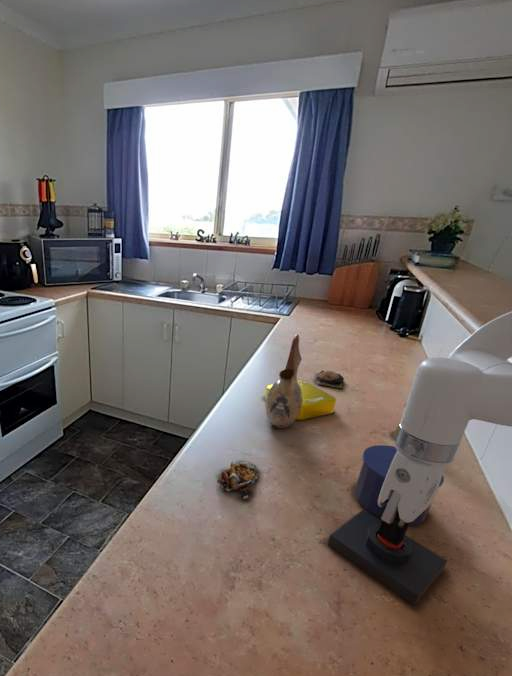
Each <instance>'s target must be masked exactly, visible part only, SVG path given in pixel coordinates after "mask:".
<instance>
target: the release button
mask: <svg viewBox="0 0 512 676" xmlns="http://www.w3.org/2000/svg"><path fill="white" fill-rule="evenodd" d="M377 539H378V540H379V541H380V543H382V544H383V545H385V546H387V547H389V548H392V549H395V550H397V549H401V547H402V545H403V541H402V542H401V543H400V544H399V545H397V546H396V545H394V544H393V543H391V542H389V541H388V540H386V539H385V538H383V537H381V536H380V535H379V534H378V536H377Z"/></svg>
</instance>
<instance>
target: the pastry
mask: <svg viewBox="0 0 512 676" xmlns="http://www.w3.org/2000/svg"><path fill="white" fill-rule="evenodd" d="M259 470H260V469H259V467H258V466H257V465H256V464H254V463H252V462H250V461H246V460H245V461H242V462H240V463H234V461H233V460H231V462H230V468H227V469H225V470H224V471H222V472H221V474H220V476H219V478H218V479H217V480H216V484H217V485H219V487H220V488H221V489H225V490H226V491H227V492H231V491H235V490H237V491H240V492H244V494H242V495H241V499H243V500H248V499H249V497H250V496H251V495H252V492H251V490H250V488H249V487H251V485H253V484H255V482H256V480H258V474H259Z"/></svg>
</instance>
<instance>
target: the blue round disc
mask: <svg viewBox="0 0 512 676" xmlns="http://www.w3.org/2000/svg"><path fill="white" fill-rule="evenodd" d="M396 452H397V449H396V448H395V446H394V445H386V444H385V445H384V444H383V445H382V444H379V445H378V444H377V445H372V446H369V447H367V448H366V449H364V451H363V452H362V461H364V463H365V465H366V466H367V467H368V468H369V469H370V470H371V471H372V472H373V473H375V474H376V475H378V476H379V477H381V478H383V479H384V480H385V478H386V475H387V473H388V470H389V468H390V465H391V462H392V461H393V458H394V456H395V454H396ZM444 481H445V477H444V474H443V475H442V478H441V481H440V484H439V487H438V489H440V487H442V485H443V484H444Z"/></svg>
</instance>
